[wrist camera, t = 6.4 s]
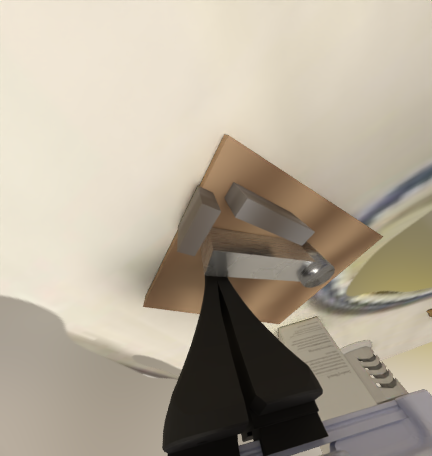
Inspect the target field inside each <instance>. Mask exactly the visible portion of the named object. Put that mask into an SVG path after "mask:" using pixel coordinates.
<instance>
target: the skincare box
mask: <svg viewBox="0 0 432 456" xmlns="http://www.w3.org/2000/svg"><path fill="white" fill-rule="evenodd" d="M279 341H280V342H282V343H283V344H284V345H285V346H286V347H287V348H288V349H289V350H290V351H292V352H293V353H294V354H295V355H296V356H297V357H299V358H300V359H301V360H302V361H303V362H305V363H306V364H307V365H308V366H309V367H310V369H311V370H312V372H313V373H314V375H315V377H316V378H317V380H318V381H319V383H320V385H321V387H322V389H323V394H322V395H321V396H320V397H318V398H317V399H316V400H315V402H316V404H317V406H318V409H319V411H318V414H319V416H320V419H321V421H324V420H328V419H331V418H335V417H338V416H341V415H345V414H348V413H352V412H355V411H358V410H362V409H365V408H369V407H372V406H375V405H377V403H376V402H375V400H374V399H373V397H372V396H371V394H370V393H369V391H368V390H367V388H366V387H365V385H364V384H363V383H362V381H361V380H360V378H359V377H358V375H357V374H356V372H355V371H354V369H353V368H352V366H351V365H350V364H349V362H348V361H347V359H346V358H345V356H344V355H343V353H342V352H341V350H340V349H339V347H338V346H337V345H336V343H335V342H334V340H333V339H332V337H331V336H330V334H329V333H328V331H327V330H326V328H325V327H324V326H323V324H322V323H321V321H320V320H319V318H318V317H314V318H311V319H308V320H304V321H301V322H297V323H294V324H291V325H287V326H284V327H280V328H279ZM329 446H330V443H328V444H325V445H322V446H320V448H321V451H322V453H323V454H327V453H329V452H330V448H329Z"/></svg>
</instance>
